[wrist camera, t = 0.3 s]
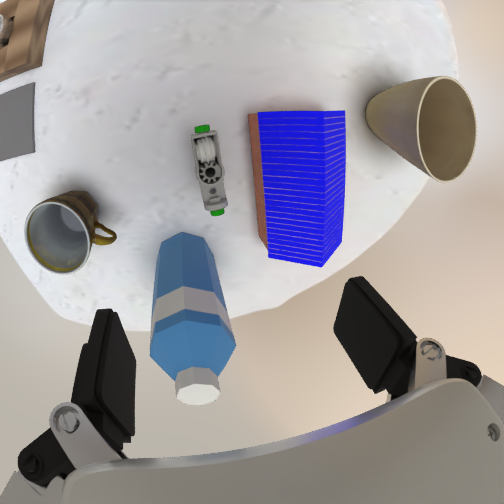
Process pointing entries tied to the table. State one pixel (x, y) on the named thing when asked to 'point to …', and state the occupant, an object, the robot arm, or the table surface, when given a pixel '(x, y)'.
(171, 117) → the table surface
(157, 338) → the water bottle
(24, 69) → the housing
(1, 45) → the grey metal cylinder
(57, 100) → the table surface
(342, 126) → the house
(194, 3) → the table surface
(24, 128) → the mat
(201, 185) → the mechanical component
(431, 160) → the plant pot
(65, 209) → the ceramic cup
